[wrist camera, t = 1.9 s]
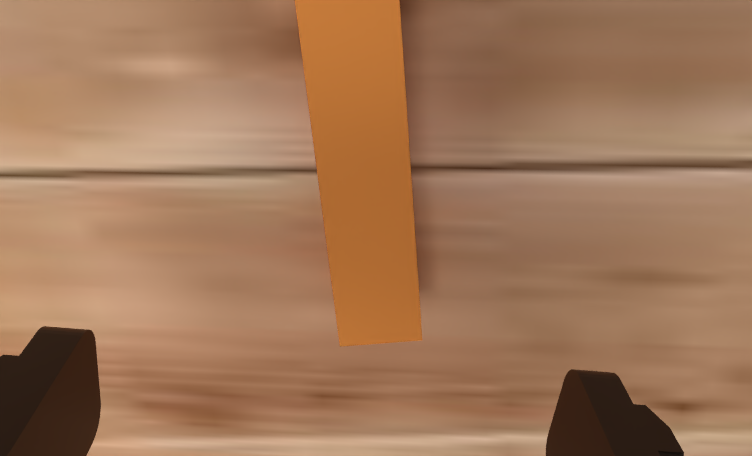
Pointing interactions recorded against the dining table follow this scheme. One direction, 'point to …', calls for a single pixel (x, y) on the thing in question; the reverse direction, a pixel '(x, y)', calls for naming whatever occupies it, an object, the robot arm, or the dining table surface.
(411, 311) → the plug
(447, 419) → the dining table surface
